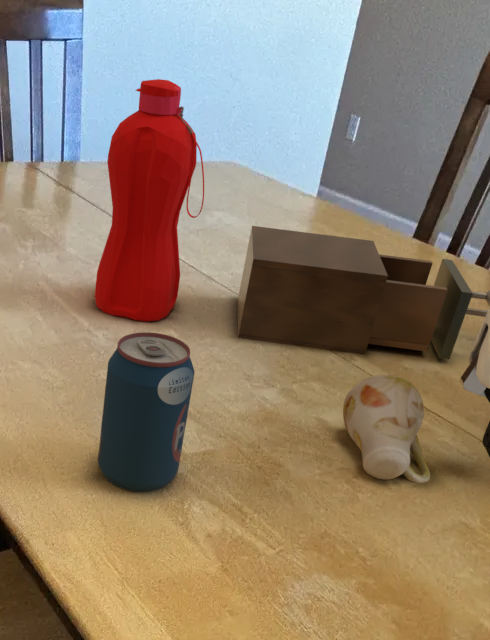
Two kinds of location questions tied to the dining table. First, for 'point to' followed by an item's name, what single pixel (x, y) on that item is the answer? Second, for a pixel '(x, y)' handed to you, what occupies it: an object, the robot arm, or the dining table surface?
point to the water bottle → (147, 206)
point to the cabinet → (310, 290)
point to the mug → (386, 426)
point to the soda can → (145, 411)
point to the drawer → (422, 306)
